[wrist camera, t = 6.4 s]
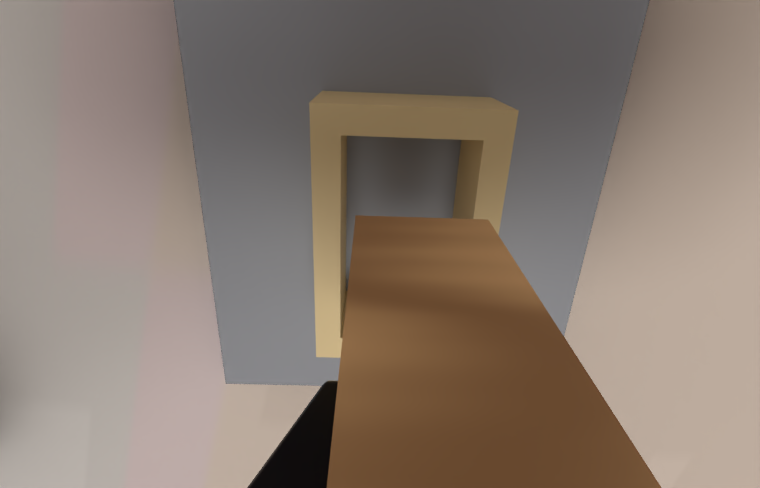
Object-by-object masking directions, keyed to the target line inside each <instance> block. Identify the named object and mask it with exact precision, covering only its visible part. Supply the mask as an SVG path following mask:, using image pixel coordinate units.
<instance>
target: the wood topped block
mask: <svg viewBox="0 0 760 488" xmlns="http://www.w3.org/2000/svg"><path fill="white" fill-rule="evenodd" d="M327 488H661V486H660V485H659V483H658V482H657V480H656V479H655V477H654V476H653V474H652V472H651V471H650V469H649V468H648V466H647V465H646V463H645V462H644V460H643V459H642V457H641V455H640V454H639V452H638V451H637V449H636V448H635V446H634V445H633V443H632V441H631V440H630V438H629V437H628V435H627V434H626V432H625V431H624V429H623V428H622V426H621V424H620V423H619V421H618V420H617V418H616V417H615V415H614V414H613V412H612V410H611V409H610V407H609V406H608V404H607V403H606V401H605V400H604V398H603V397H602V395H601V393H600V392H599V390H598V389H597V387H596V386H595V384H594V383H593V381H592V379H591V378H590V376H589V375H588V373H587V372H586V370H585V369H584V367H583V366H582V364H581V362H580V361H579V359H578V358H577V356H576V355H575V353H574V352H573V350H572V348H571V347H570V345H569V344H568V342H567V341H566V339H565V338H564V336H563V335H562V333H561V331H560V330H559V328H558V327H557V325H556V324H555V322H554V321H553V319H552V317H551V316H550V314H549V313H548V311H547V310H546V308H545V307H544V305H543V304H542V302H541V300H540V299H539V297H538V296H537V294H536V293H535V291H534V290H533V288H532V286H531V285H530V283H529V282H528V280H527V279H526V277H525V276H524V274H523V273H522V271H521V269H520V268H519V266H518V265H517V263H516V262H515V260H514V259H513V257H512V255H511V254H510V252H509V251H508V249H507V248H506V246H505V245H504V243H503V242H502V240H501V238H500V237H499V235H498V234H497V232H496V231H495V229H494V228H493V226H492V224H491V223H490V221H489V220H488V219H457V218H425V217H393V216H360V215H356V216H355V225H354V235H353V244H352V253H351V263H350V272H349V282H348V291H347V301H346V310H345V319H344V329H343V338H342V348H341V357H340V367H339V376H338V386H337V395H336V404H335V414H334V423H333V433H332V442H331V452H330V461H329V471H328V480H327Z"/></svg>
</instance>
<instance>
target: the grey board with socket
mask: <svg viewBox="0 0 760 488" xmlns="http://www.w3.org/2000/svg"><path fill="white" fill-rule="evenodd" d="M648 4H649V0H174V8H175V15H176V22H177V30H178V37H179V44H180V52H181V59H182V66H183V74H184V81H185V88H186V96H187V103H188V110H189V118H190V125H191V132H192V140H193V147H194V154H195V162H196V169H197V176H198V183H199V191H200V198H201V205H202V213H203V220H204V227H205V235H206V242H207V249H208V257H209V264H210V271H211V279H212V286H213V293H214V301H215V308H216V315H217V323H218V330H219V337H220V345H221V352H222V359H223V367H224V374H225V381H226V384H268V385H313V386H322V385H323V384H324V383H325V382H326V381H329V380H330V381H338V376H339V367H340V357H341V348H342V338H343V329H344V319H345V310H346V301H347V291H348V282H349V272H350V263H351V253H352V244H353V235H354V225H355V216H356V215H360V216H393V217H425V218H457V219H488V220H489V221H490V223H491V224H492V226H493V228H494V229H495V231H496V232H497V234H498V235H499V237H500V238H501V240H502V242H503V243H504V245H505V246H506V248H507V249H508V251H509V252H510V254H511V255H512V257H513V259H514V260H515V262H516V263H517V265H518V266H519V268H520V269H521V271H522V273H523V274H524V276H525V277H526V279H527V280H528V282H529V283H530V285H531V286H532V288H533V290H534V291H535V293H536V294H537V296H538V297H539V299H540V300H541V302H542V304H543V305H544V307H545V308H546V310H547V311H548V313H549V314H550V316H551V317H552V319H553V321H554V322H555V324H556V325H557V327H558V328H559V330H560V331H561V333H562V335H563V336H564V334H565V330H566V326H567V322H568V318H569V314H570V310H571V306H572V302H573V298H574V294H575V291H576V287H577V283H578V279H579V275H580V271H581V267H582V263H583V259H584V255H585V251H586V247H587V243H588V240H589V236H590V232H591V228H592V224H593V220H594V216H595V212H596V208H597V204H598V200H599V196H600V192H601V189H602V185H603V181H604V177H605V173H606V169H607V165H608V161H609V157H610V153H611V149H612V145H613V141H614V138H615V134H616V130H617V126H618V122H619V118H620V114H621V110H622V106H623V102H624V98H625V94H626V91H627V87H628V83H629V79H630V75H631V71H632V67H633V63H634V59H635V55H636V51H637V47H638V43H639V40H640V36H641V32H642V28H643V24H644V20H645V16H646V12H647V8H648Z"/></svg>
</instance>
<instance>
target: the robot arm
mask: <svg viewBox="0 0 760 488" xmlns="http://www.w3.org/2000/svg"><path fill="white" fill-rule="evenodd" d="M337 386H338V381H330V380H329V381H326V382H325V383H324V384H323V385H322V387H321V388H320V389H319V391H318V392H317V393H316V395H315V396H314V397H313V399H312V400H311V402H310V403H309V404H308V406H307V407H306V408H305V410H304V411H303V413H302V414H301V415H300V417H299V418H298V419H297V421H296V422H295V423H294V425H293V426H292V428H291V429H290V430H289V432H288V433H287V434H286V436H285V437H284V438H283V440H282V441H281V443H280V444H279V445H278V447H277V448H276V449H275V451H274V452H273V454H272V455H271V456H270V458H269V459H268V460H267V462H266V463H265V464H264V466H263V467H262V469H261V470H260V471H259V473H258V474H257V475H256V477H255V478H254V479H253V481H252V482H251V484H250V485H249V486H248V488H327V480H328V471H329V461H330V452H331V442H332V433H333V423H334V414H335V404H336V395H337Z"/></svg>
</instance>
